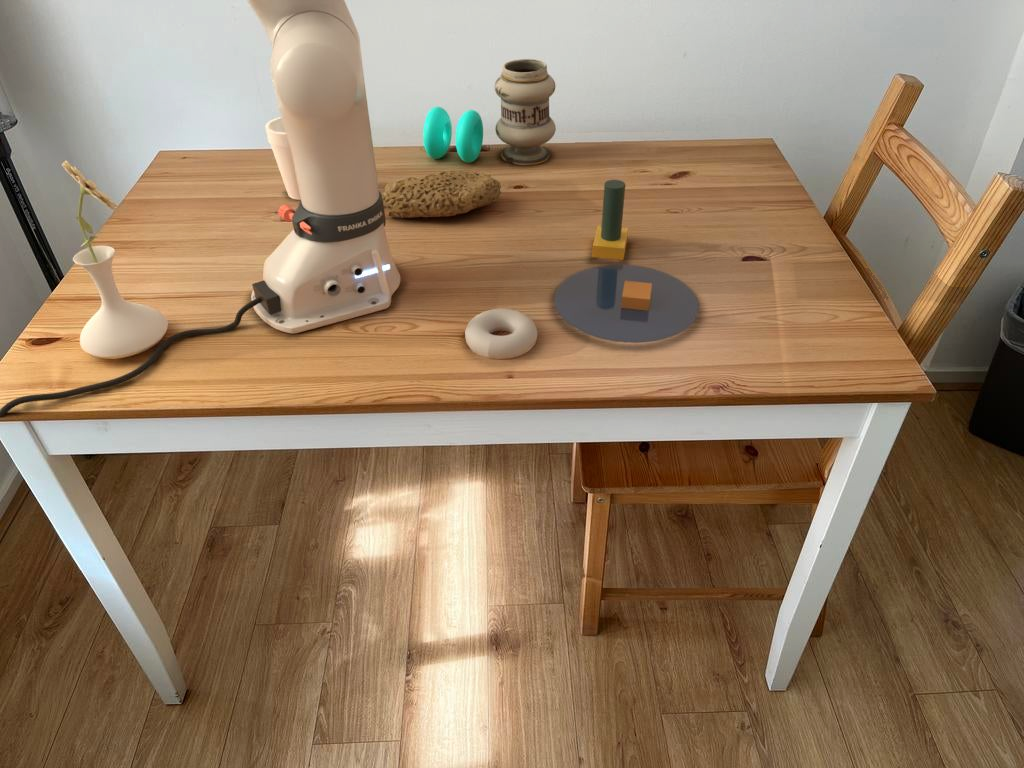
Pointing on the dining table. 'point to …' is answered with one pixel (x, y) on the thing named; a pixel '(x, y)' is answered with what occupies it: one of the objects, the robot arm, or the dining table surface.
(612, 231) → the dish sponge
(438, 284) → the dining table surface
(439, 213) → the sponge
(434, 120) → the donuts
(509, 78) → the apothecary jar
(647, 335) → the plate
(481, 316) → the donut
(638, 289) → the orange block
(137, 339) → the flower in vase
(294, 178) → the foam cup
